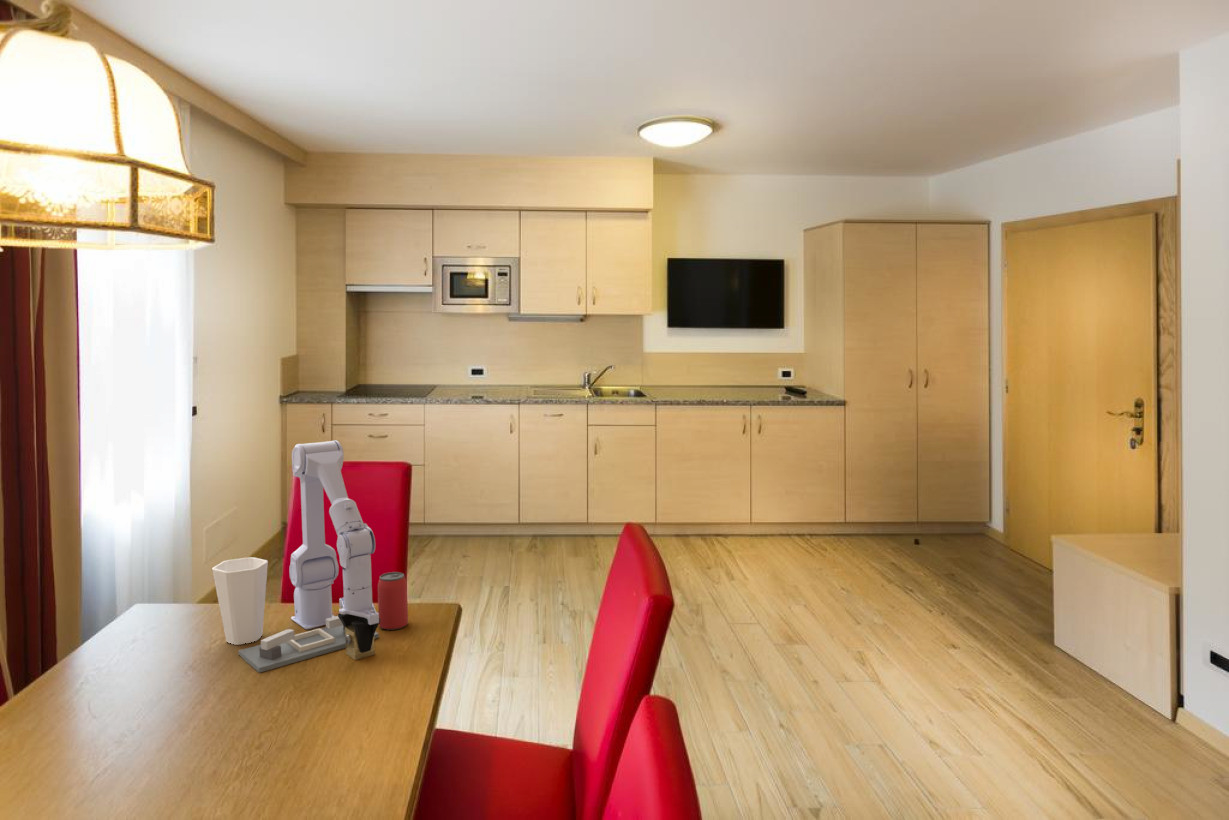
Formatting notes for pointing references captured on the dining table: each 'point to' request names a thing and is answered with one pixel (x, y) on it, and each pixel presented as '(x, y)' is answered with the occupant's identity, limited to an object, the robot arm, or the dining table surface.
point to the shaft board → (296, 646)
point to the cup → (241, 598)
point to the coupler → (355, 644)
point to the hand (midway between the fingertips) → (360, 647)
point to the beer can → (392, 601)
